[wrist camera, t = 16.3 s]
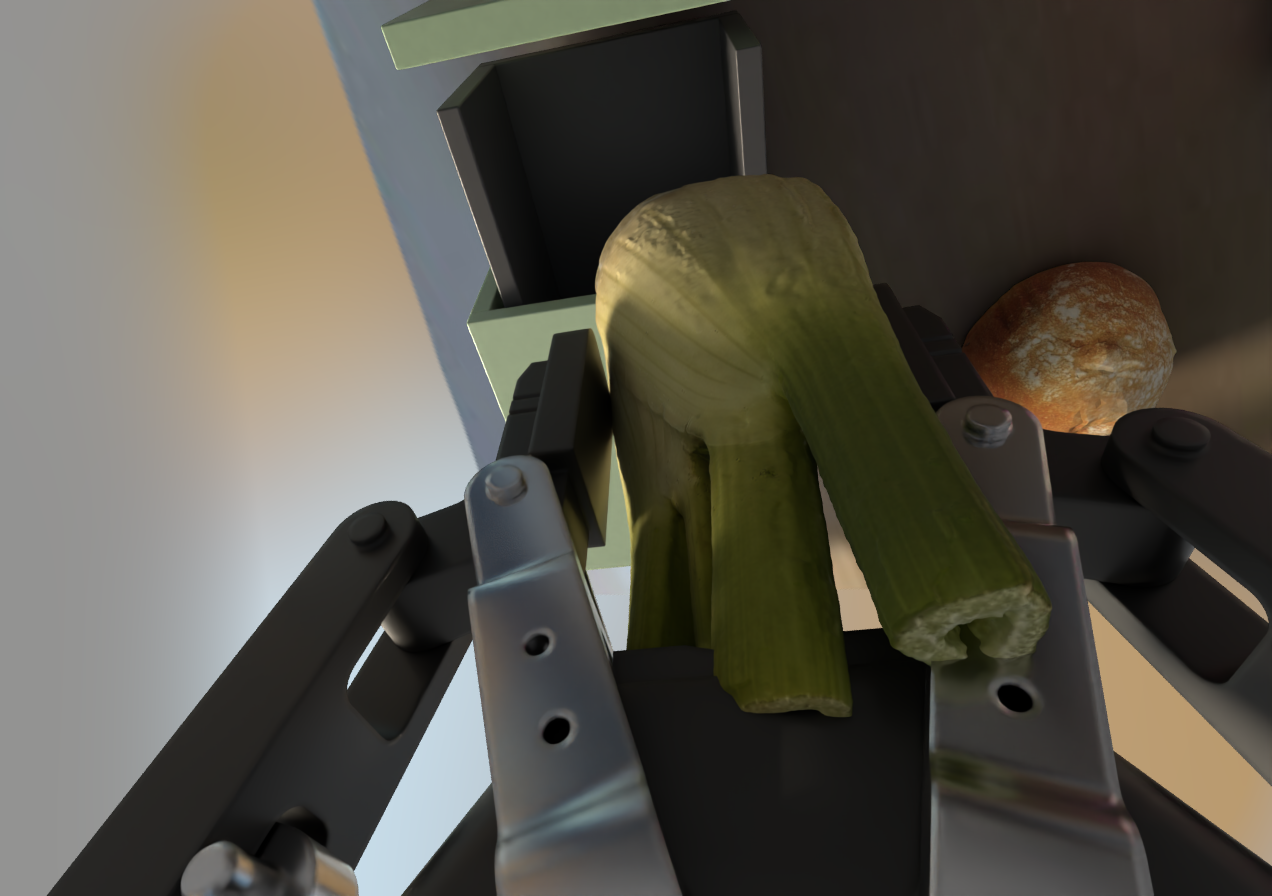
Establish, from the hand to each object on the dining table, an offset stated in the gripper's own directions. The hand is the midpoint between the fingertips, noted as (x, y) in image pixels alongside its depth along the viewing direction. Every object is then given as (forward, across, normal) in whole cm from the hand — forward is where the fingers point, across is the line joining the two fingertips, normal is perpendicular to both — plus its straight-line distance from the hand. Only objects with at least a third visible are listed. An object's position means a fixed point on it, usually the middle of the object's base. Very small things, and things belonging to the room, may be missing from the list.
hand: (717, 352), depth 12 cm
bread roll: (+21, -18, +16) cm, 32 cm away
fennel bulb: (+4, 0, 0) cm, 4 cm away
